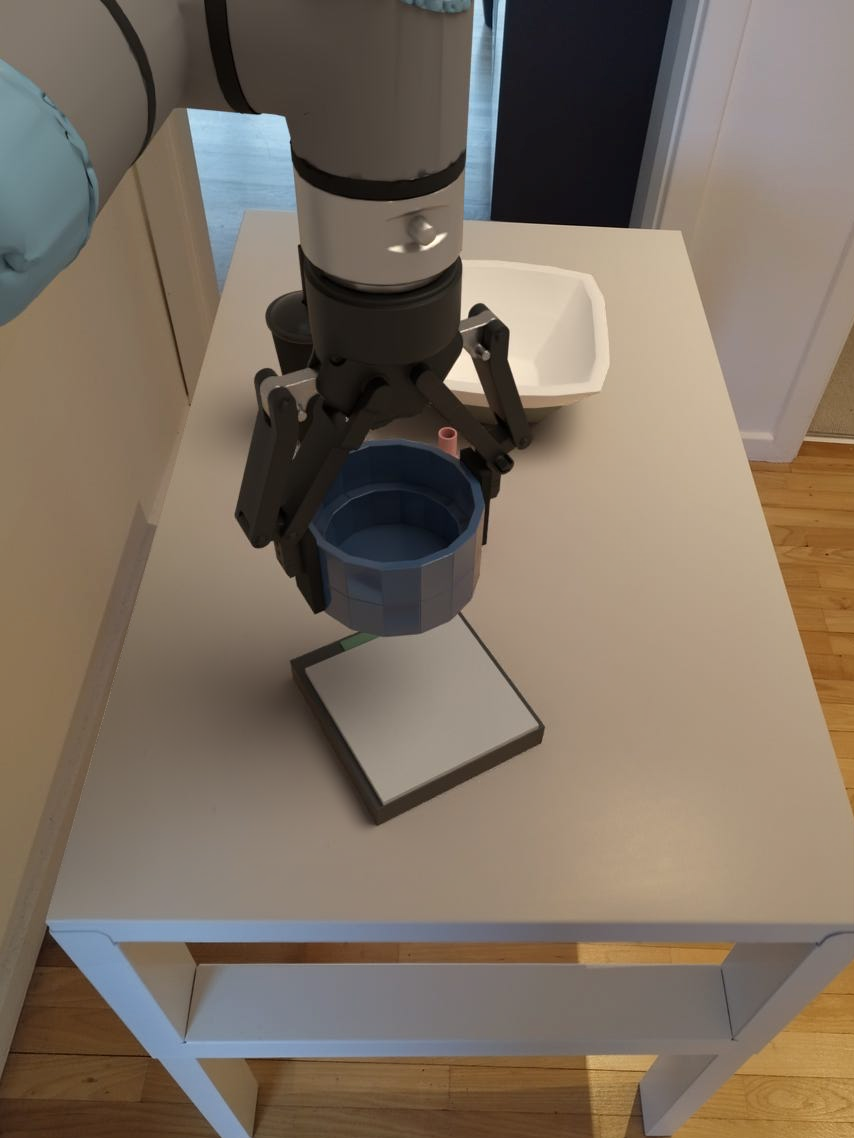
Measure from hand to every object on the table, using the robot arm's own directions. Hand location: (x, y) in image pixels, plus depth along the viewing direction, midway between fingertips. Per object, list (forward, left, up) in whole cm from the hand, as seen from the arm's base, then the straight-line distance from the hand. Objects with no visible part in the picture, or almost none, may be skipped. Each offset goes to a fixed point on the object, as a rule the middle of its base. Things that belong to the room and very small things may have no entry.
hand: (394, 564), depth 60 cm
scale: (+1, +1, -16) cm, 16 cm away
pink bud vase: (-14, +12, -16) cm, 25 cm away
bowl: (-30, +27, -16) cm, 44 cm away
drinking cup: (-32, +8, -16) cm, 37 cm away
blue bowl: (0, 0, -1) cm, 1 cm away
